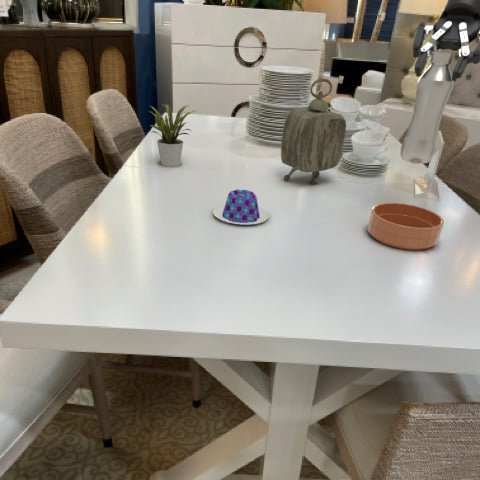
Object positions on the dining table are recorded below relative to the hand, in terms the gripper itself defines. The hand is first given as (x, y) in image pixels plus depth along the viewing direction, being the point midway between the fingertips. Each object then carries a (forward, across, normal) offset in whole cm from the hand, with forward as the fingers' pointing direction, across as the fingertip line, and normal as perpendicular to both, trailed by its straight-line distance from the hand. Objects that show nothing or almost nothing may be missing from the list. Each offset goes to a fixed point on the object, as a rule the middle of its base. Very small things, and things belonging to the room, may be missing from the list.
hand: (435, 75), depth 87 cm
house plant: (+20, +64, -22) cm, 71 cm away
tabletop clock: (+10, +29, -32) cm, 45 cm away
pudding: (+35, +29, -8) cm, 46 cm away
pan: (+25, -3, -17) cm, 30 cm away
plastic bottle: (+10, 0, -13) cm, 17 cm away
